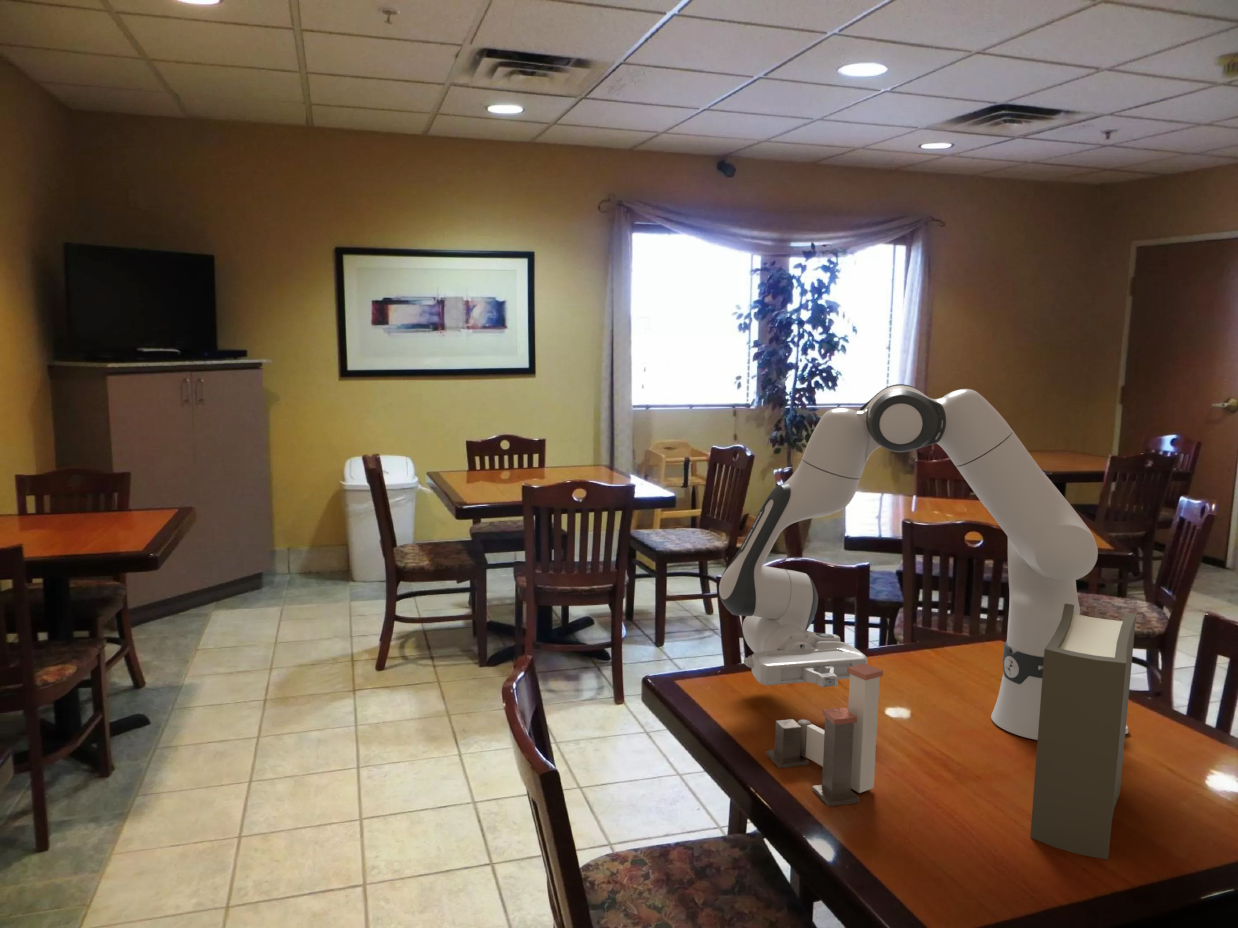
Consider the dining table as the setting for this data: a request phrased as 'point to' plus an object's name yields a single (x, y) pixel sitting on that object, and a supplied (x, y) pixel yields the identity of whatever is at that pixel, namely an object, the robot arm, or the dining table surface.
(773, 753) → the hinge post
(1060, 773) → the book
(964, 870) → the dining table surface
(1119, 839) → the dining table surface
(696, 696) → the dining table surface
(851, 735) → the post
